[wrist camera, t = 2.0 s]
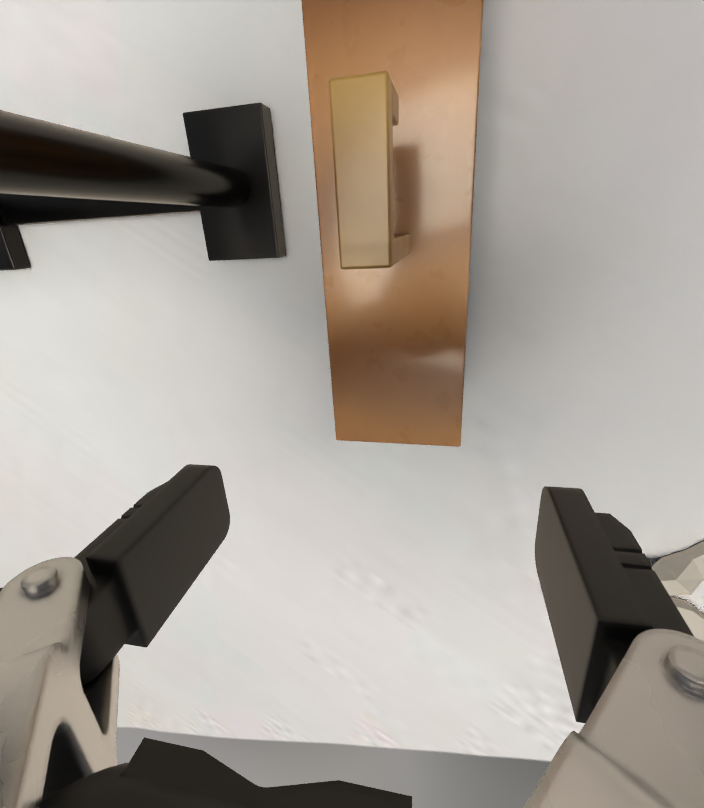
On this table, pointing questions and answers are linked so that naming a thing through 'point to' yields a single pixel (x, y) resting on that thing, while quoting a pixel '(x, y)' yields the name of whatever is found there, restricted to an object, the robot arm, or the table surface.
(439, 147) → the scrub brush
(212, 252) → the black hurdle stand
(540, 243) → the table surface
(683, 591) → the pliers
